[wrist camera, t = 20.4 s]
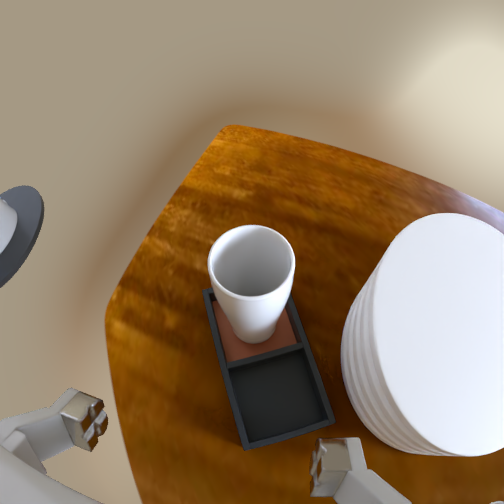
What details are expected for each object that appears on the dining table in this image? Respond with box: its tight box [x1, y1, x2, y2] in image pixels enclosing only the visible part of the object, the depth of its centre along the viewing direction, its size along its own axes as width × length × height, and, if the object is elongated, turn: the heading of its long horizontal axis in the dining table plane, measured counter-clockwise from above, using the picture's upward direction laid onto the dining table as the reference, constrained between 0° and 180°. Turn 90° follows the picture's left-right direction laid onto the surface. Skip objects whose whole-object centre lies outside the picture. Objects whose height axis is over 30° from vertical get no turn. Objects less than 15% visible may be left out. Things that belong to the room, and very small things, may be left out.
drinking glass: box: [208, 225, 295, 344], centre depth 29 cm, size 7×7×15 cm
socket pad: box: [202, 288, 336, 451], centre depth 32 cm, size 10×19×3 cm, turn 16°
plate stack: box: [341, 213, 504, 456], centre depth 28 cm, size 28×28×12 cm
